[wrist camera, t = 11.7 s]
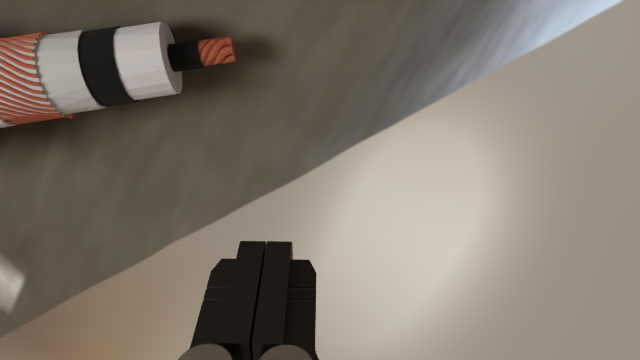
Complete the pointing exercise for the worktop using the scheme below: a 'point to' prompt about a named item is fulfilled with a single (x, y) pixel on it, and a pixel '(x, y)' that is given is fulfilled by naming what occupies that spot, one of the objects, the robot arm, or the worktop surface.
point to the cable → (96, 69)
